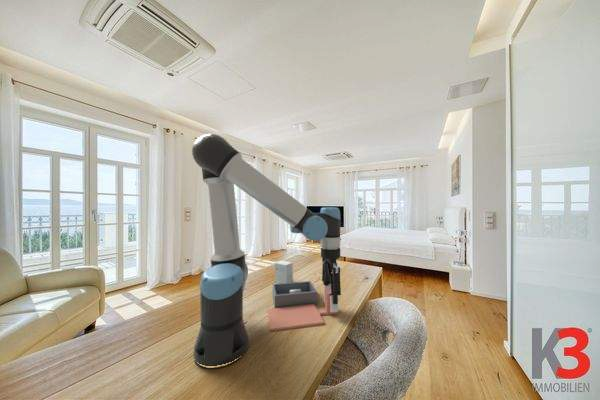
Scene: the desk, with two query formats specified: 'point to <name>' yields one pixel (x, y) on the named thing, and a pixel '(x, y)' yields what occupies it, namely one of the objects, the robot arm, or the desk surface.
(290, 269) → the small box
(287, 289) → the tub
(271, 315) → the lid
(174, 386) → the desk surface
